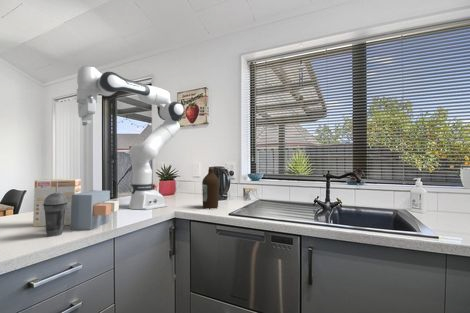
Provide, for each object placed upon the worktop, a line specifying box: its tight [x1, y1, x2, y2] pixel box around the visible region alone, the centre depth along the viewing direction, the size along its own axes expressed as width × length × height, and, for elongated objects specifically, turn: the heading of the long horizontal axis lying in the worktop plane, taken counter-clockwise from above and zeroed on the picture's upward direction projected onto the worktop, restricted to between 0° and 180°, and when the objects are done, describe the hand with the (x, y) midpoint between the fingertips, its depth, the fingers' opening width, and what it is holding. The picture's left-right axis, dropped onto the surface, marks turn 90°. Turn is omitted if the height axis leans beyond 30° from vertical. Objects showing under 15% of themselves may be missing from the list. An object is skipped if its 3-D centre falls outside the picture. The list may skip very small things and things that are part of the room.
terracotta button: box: [93, 204, 112, 215], centre depth 96 cm, size 6×4×4 cm, turn 91°
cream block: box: [103, 200, 120, 213], centre depth 103 cm, size 6×4×4 cm, turn 91°
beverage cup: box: [43, 181, 67, 237], centre depth 86 cm, size 7×7×20 cm
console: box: [70, 189, 111, 231], centre depth 99 cm, size 8×14×14 cm, turn 1°
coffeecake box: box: [32, 178, 82, 228], centre depth 100 cm, size 15×7×20 cm, turn 105°
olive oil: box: [201, 166, 220, 210], centre depth 141 cm, size 11×11×25 cm
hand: (86, 124), depth 117 cm, fingers open, 8 cm apart
